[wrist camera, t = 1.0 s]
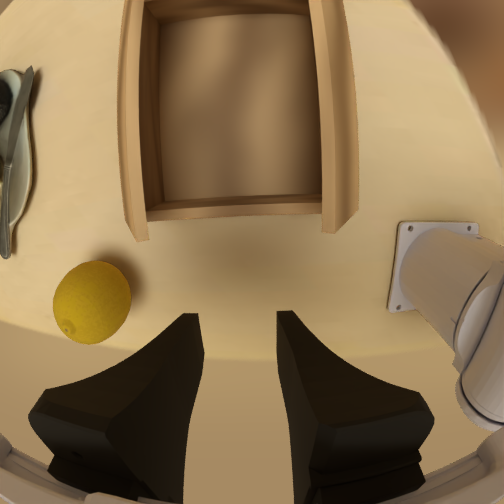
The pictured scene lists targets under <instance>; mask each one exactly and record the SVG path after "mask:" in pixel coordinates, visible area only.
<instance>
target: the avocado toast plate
mask: <svg viewBox="0 0 504 504" xmlns="http://www.w3.org/2000/svg"><path fill="white" fill-rule="evenodd" d="M33 78H34V72H33V68H32V66H30V67H29V68H28V69H27V70H26V72H25V74H21V73H19V72H17V71H16V70H12V69H10V70H4V71H2V72H0V254H1V256H2V258H3V259H9V258H10V256H11V246H12V245H11V239H12V231H13V228H14V225H15V224H16V222H17V221H18V220H19V218H20V217H21V215H22V214H23V211H24V208H25V205H26V202H27V198H28V195H29V192H30V189H31V186H32V153H31V143H30V132H29V100H30V94H31V89H32V83H33Z"/></svg>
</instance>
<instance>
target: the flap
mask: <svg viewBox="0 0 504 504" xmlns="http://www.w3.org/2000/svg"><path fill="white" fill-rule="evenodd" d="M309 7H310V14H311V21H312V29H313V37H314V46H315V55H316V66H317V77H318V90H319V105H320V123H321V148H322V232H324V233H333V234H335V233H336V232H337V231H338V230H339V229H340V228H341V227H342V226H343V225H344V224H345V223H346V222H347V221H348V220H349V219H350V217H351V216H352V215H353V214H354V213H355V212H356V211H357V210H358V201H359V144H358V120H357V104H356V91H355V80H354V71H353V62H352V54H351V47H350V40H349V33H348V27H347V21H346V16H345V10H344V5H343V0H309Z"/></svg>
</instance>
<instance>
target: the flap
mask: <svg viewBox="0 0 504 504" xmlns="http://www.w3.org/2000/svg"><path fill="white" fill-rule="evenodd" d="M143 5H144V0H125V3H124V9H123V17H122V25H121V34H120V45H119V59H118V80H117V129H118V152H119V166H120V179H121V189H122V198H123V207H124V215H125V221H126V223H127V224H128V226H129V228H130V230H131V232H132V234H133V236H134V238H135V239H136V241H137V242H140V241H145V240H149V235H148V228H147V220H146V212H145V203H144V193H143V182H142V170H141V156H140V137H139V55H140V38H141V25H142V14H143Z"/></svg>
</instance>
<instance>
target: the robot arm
mask: <svg viewBox="0 0 504 504" xmlns="http://www.w3.org/2000/svg"><path fill="white" fill-rule="evenodd" d="M410 225H411V229H410V230H409V231H408V227H409V226H410ZM468 226H469V228H468ZM467 228H468V230H467ZM478 231H479V225H478V223H475V222H427V221H404V222H401V223H400V224H399V227H398V237H397V246H396V255H395V263H394V270H393V277H392V284H391V290H390V296H389V301H388V307H387V309H388V310H389V312H391V313H395V312H402V311H409V310H416V309H417V310H418V311H419V313H420V314H421V315H422V316H423V317H424V318H425V319H426V320H427V321H428V322H429V323H430V325H431V326H432V327H433V328H434V329H435V330H436V331H437V332H438V333H439V335H440V336H441V337H442V338H443V339H444V340H445V341H446V343H447V344H448V345H449V346H450V347H451V348H452V349H453V351H454V352H455V359H454V361H453V365H454V367H455V368H456V369H457V371H458V372H459V373H460V376H459V378H458V380H457V382H456V387H455V392H456V397H457V401H458V403H459V405H460V407H461V409H462V410H463V412H464V414H465V415H466V416H467V417H468V419H469V420H470V421H472V422H473V423H474V424H475V425H477V426H479V427H481V428H483V429H486V430H489V431H494V433H492V434H491V435H490V436H488V437H487V438H486V439H485V440H484V441H483V442H482V443H481V444H480V446H479V447H478V448H477V450H476V451H475V452H473V453H471V454H469V455H467V456H465V457H463V458H461V459H459V460H457V461H456V462H453V463H451V464H450V465H447V466H445V467H443V468H440V469H438V470H436V471H433V472H431V473H429V474H426V475H423V473H422V470H421V468H420V465H419V462H420V461H421V460H422V458H421V455H420V453H419V450H418V449H419V448H420V447H421V445H422V444H423V442H424V441H425V439H426V438H427V436H428V435H429V433H430V431H431V429H432V427H433V425H434V416H433V414H432V413H431V411H430V409H429V407H428V405H427V403H426V402H425V400H424V399H423V397H422V396H421V394H420V393H419V392H416V391H413V390H409V389H406V388H402V387H399V386H396V385H393V384H390V383H387V382H385V381H382V380H380V379H377V378H375V377H373V376H371V375H369V374H367V373H365V372H363V371H361V370H359V369H358V368H356V367H354V366H352V365H350V364H349V363H347V362H346V361H344V360H343V359H342V358H340V357H339V356H337V355H336V354H335V353H333V352H332V351H331V350H330V349H328V348H327V347H326V346H325V345H324V344H323V343H322V342H321V341H320V340H319V339H318V338H317V337H316V336H315V335H314V334H313V333H312V332H311V331H310V330H309V329H308V328H307V327H306V326H305V325H304V324H303V322H302V321H301V320H300V319H299V318H298V316H297V315H296V314H295V313H294V312H293V311H292V310H290V311H277V364H278V374H279V379H280V383H281V388H282V393H283V398H284V402H285V407H286V412H287V417H288V423H289V432H290V445H291V457H292V472H293V488H294V504H495V503H497V502H498V501H499V500H501V499H502V498H503V497H504V247H503V246H501V245H499V244H497V243H495V242H493V241H491V240H489V239H486V238H484V237H482V236H480V235H478ZM398 305H399V307H398V308H396V307H397V306H398ZM203 362H204V348H203V342H202V336H201V330H200V324H199V317H198V313H183V314H182V315H181V316H179V317H178V318H177V319H176V320H175V321H174V322H173V323H172V324H170V325H169V326H168V327H167V328H166V329H165V330H164V331H163V332H161V333H160V334H159V335H158V336H157V337H156V338H154V339H153V340H152V341H150V342H149V343H148V344H147V345H145V346H144V347H143V348H141V349H140V350H139V351H137V352H136V353H134V354H133V355H132V356H130V357H128V358H127V359H125V360H124V361H122V362H120V363H118V364H117V365H115V366H113V367H110V368H108V369H106V370H105V371H102V372H101V373H98V374H96V375H94V376H91V377H88V378H86V379H83V380H80V381H77V382H74V383H71V384H67V385H63V386H59V387H55V388H50V389H46V390H45V391H44V392H43V394H42V395H41V397H40V398H39V399H38V401H37V402H36V404H35V405H34V407H33V408H32V410H31V411H30V413H29V414H28V419H29V422H30V425H31V427H32V428H33V430H34V431H35V432H36V434H37V435H38V436H39V438H40V439H41V440H42V441H43V442H44V444H45V445H46V446H47V447H48V448H49V449H50V450H51V452H52V453H53V454H54V457H53V459H52V461H51V463H50V465H49V466H48V465H46V464H44V463H42V462H40V461H38V460H36V459H34V458H32V457H30V456H28V455H26V454H25V453H23V452H21V451H19V450H17V449H16V448H14V447H12V445H11V444H10V442H9V441H8V440H7V439H6V438H5V437H4V436H3V435H2V434H1V433H0V497H1V498H2V499H4V500H5V501H6V502H8V503H9V504H183V486H184V468H185V455H186V446H187V437H188V428H189V423H190V418H191V414H192V410H193V406H194V402H195V398H196V395H197V391H198V387H199V384H200V380H201V376H202V369H203Z"/></svg>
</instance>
